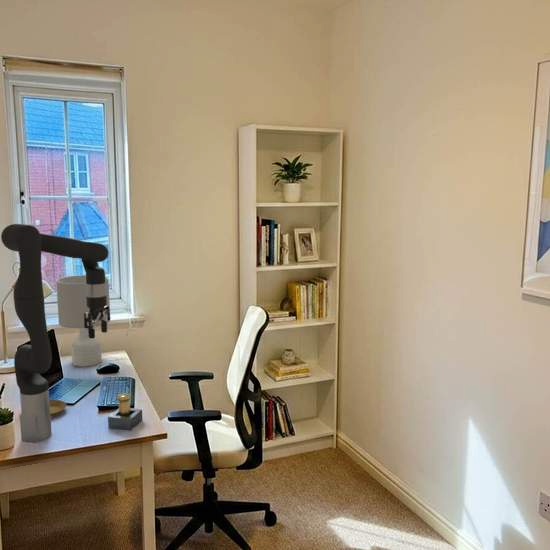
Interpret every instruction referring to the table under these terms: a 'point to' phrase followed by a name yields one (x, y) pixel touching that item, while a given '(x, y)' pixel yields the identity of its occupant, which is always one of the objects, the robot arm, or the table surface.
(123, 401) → the brass flared peg
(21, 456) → the table surface
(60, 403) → the plant saucer
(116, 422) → the box
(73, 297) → the lamp
